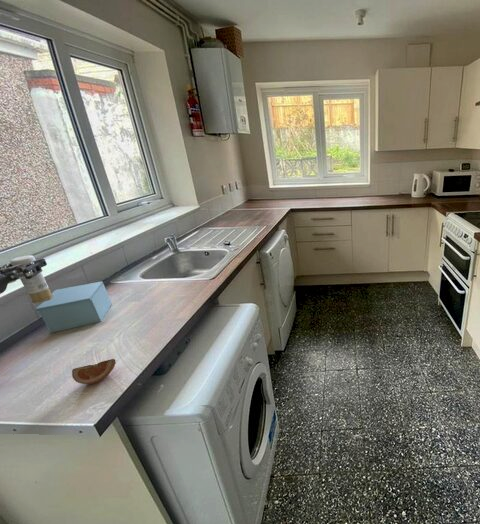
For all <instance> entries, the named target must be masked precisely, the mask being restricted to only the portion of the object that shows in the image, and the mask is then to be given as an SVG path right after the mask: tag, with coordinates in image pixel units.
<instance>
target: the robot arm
mask: <svg viewBox="0 0 480 524" xmlns="http://www.w3.org/2000/svg"><path fill="white" fill-rule="evenodd" d="M35 260H36V261H33V262H30V263H28V264H25V265H20V264H18V265H15V266H12V264H11V263H7V264H5V263H4V264H3V265H0V295H1V294H3V293H4V292H5V291H6V290H7V288H8V285H9V284H13V283H15V282H17V281H18V280H20V279H21V278H24V277H25V278H26V279H31V278H33V277H34V276H36V275H37V274H39V273H40V272H41V273H42V272H43V269H42V268H43V267H46V266H47V265H48V263H47V261H46V259H45V258H43V257H42V258H38V259H35ZM26 267H27V268H26ZM16 268H18V269H19V271H20V272H19V271H18V269H16Z"/></svg>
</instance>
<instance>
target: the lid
mask: <svg viewBox="0 0 480 524" xmlns="http://www.w3.org/2000/svg"><path fill="white" fill-rule="evenodd" d="M102 284H104V282H103V281H97V282H91V283H86V284H85V283H84V284H80V285H75V286H70V287H64V288H58V289H55V290H53V292H51V294H52V295H53V298H52V299H50V300H48V301H45V302H41V303H39V305H38V306H37V307H36V308H35V311H36V312H39V311H40V310H45V309H50V308H55V307H60V306H65V305H70V304H75V303H80V302H85V301H90V300H91V299H92V298H93V296H94V295H95V294H96V292H97V291H98V290H99V288H100V287H101V286H102Z"/></svg>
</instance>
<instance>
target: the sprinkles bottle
mask: <svg viewBox="0 0 480 524" xmlns="http://www.w3.org/2000/svg"><path fill="white" fill-rule="evenodd" d="M36 260H37V259H36V258H35V256H34V255H22V256H17V257H15V258H12V259H10V260H9V261H10V264H12V266H15V265H18V264H20V265H25V264H28V263H30V262H33V261H36ZM26 268H27V267H26ZM16 269H18V268H16ZM18 271H19V269H18ZM19 272H20V271H19ZM19 280H20V282H21V283H22V286H23V287H24V289H25V291H26V293H27V294H28V296H29V298H30V300H31V303H32V304H41V303H42V302H45V301H48V300H50V299H52V298H53V295H52V291H51V289H50V288H49V286H48V283H47V281H46V278H45V277H44V275H43V273H42V272H40V273H39V274H37V275H36V276H34V277H33V278H31V279H26V278H25V277H24V278H21V279H19Z"/></svg>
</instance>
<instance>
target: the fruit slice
mask: <svg viewBox="0 0 480 524" xmlns="http://www.w3.org/2000/svg"><path fill="white" fill-rule="evenodd" d="M116 364H117V361H116V359H115V358H111V359H107V360H103V361H100V362H97V363H94V364H87V365H84V366H79V367H75V368H73V369H72V370H71V376H72V379H73V381H74V382H76V383H78V384H82V385H91V384H96V383H99V382H101V381H103V380H104V379H106V378H107V377H108V376H109V375H110V374H111V373H112V371H113V370H114V369H115V367H116Z"/></svg>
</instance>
